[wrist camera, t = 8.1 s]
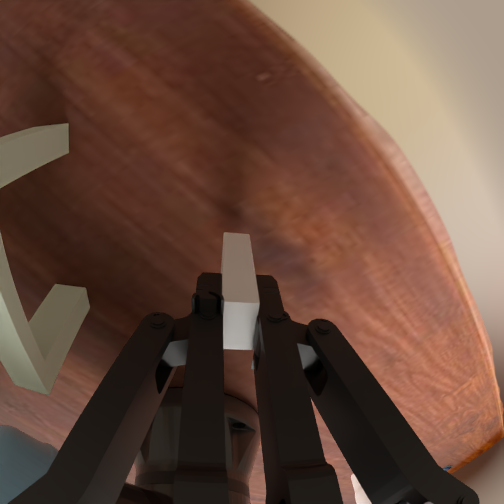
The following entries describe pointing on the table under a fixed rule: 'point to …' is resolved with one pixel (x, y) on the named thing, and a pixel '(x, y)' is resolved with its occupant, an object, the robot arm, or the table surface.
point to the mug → (359, 492)
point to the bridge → (60, 296)
